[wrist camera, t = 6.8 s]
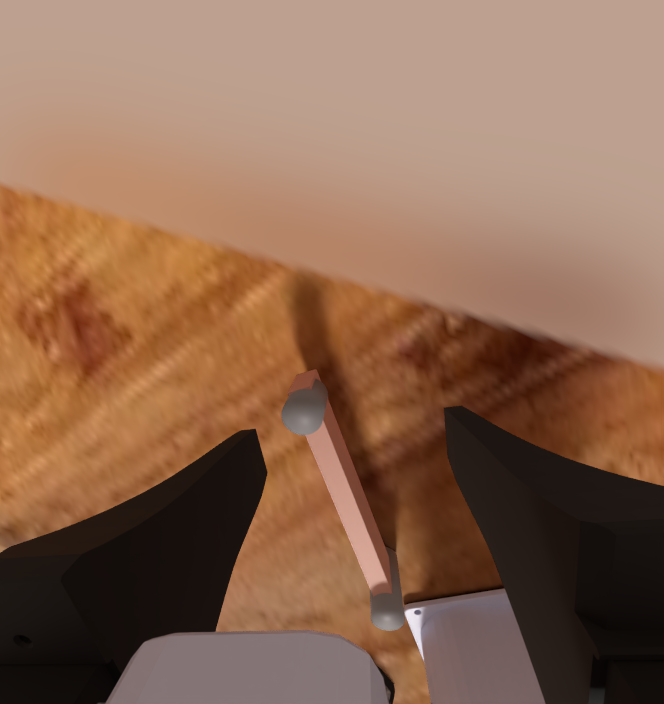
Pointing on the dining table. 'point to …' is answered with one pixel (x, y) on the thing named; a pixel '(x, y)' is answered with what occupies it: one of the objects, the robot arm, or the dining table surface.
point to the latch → (346, 495)
